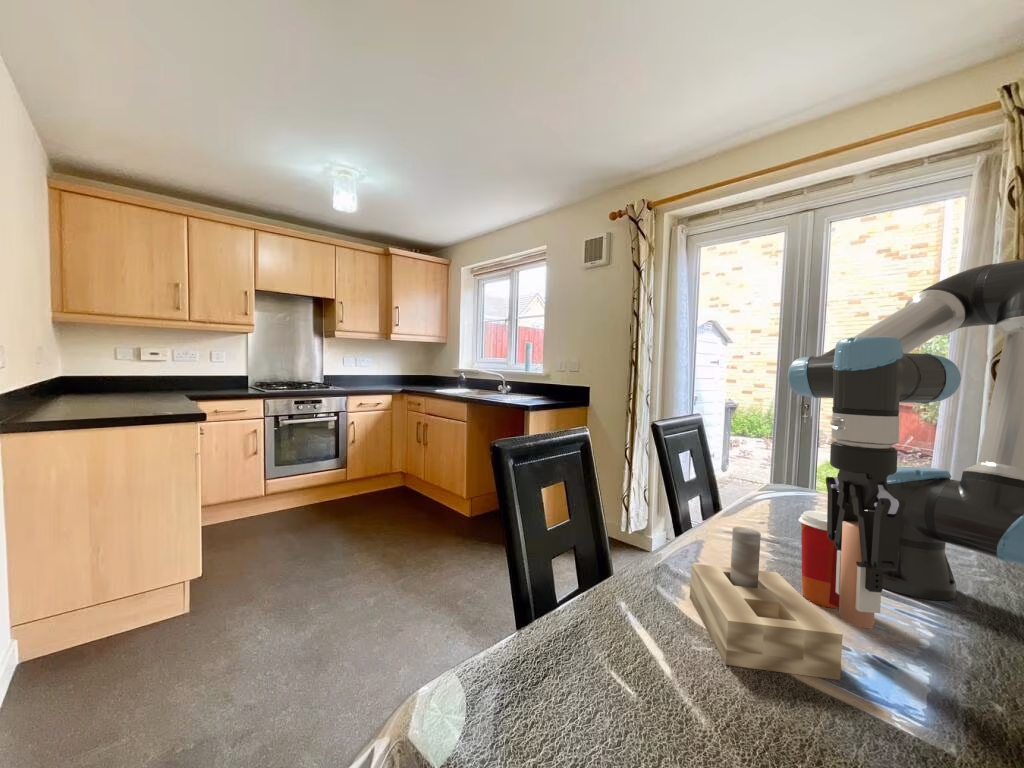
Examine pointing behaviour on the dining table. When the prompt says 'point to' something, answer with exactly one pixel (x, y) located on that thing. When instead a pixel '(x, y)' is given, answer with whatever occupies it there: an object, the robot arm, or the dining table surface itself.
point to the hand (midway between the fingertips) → (856, 601)
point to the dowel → (851, 577)
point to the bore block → (762, 616)
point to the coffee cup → (818, 560)
